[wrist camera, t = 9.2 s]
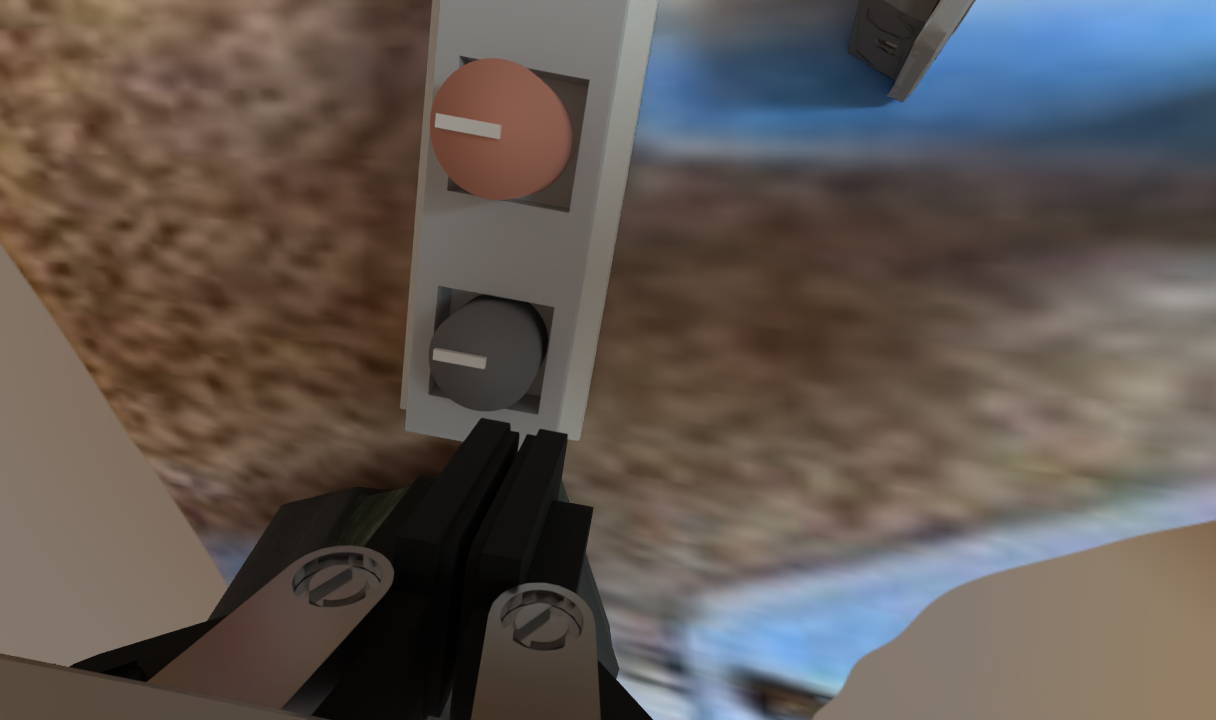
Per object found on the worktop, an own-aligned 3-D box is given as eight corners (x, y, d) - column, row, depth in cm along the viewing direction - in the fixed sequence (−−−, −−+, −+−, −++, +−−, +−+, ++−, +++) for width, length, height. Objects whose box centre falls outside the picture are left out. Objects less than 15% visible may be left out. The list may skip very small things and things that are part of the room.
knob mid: (581, 86, 26) (570, 70, 22) (563, 205, 28) (550, 211, 24) (465, 64, 26) (433, 44, 22) (454, 185, 28) (421, 187, 24)
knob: (554, 301, 32) (541, 321, 27) (540, 391, 33) (526, 422, 29) (458, 283, 32) (431, 300, 27) (449, 374, 33) (421, 403, 29)
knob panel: (690, -175, 29) (704, -269, 22) (585, 413, 38) (574, 462, 31) (478, -214, 29) (433, -321, 22) (424, 384, 38) (381, 426, 31)
